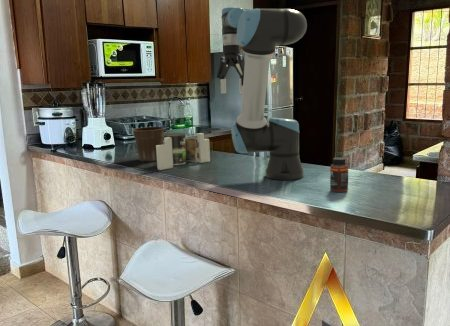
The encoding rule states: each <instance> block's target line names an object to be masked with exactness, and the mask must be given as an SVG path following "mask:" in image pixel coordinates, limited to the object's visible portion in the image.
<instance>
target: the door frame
mask: <svg viewBox="0 0 450 326" xmlns="http://www.w3.org/2000/svg"><path fill="white" fill-rule="evenodd" d="M210 146H211V145H210V139H209V138H205V133H202V132H200V133H196V148H197V161H198V163H199V164H200V163H201V164H202V163H208V162H211V150H210ZM156 154H157V161H156V167H157V170H158V171H162V170H163V171H164V170H168V169H173V168H174V165H173V157H172V140H171V138H170V137H166V138H164V137H163V145H156Z"/></svg>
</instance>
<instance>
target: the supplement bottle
mask: <svg viewBox="0 0 450 326" xmlns="http://www.w3.org/2000/svg"><path fill="white" fill-rule="evenodd" d="M332 160H333V161H332V162H333V163H332V164H330V173H329V175H330V179H329V181H330V182H329V183H330V185H329V186H330V187H329V189H330V191H332V192H333V193H346V192H347V191H349V166H348V164H347V163H346V158H345V157H333V158H332Z"/></svg>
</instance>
